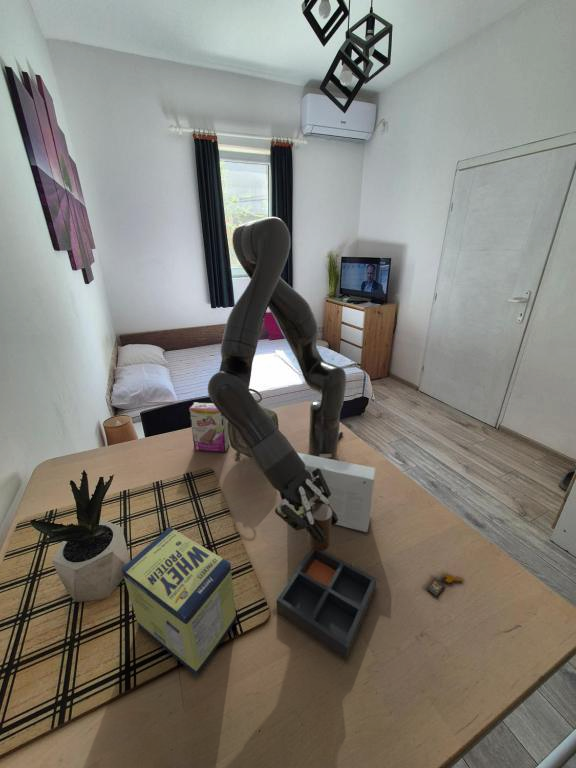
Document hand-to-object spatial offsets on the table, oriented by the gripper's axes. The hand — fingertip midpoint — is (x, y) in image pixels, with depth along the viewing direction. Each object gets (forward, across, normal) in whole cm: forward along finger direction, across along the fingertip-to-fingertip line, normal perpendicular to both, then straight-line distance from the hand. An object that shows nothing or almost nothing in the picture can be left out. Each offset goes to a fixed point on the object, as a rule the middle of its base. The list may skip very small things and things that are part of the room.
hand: (328, 530), depth 62 cm
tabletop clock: (-17, +26, +38) cm, 49 cm away
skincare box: (+5, +17, +16) cm, 24 cm away
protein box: (-2, -21, +23) cm, 31 cm away
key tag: (+25, +13, -5) cm, 29 cm away
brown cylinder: (+1, 0, +4) cm, 4 cm away
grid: (+12, -3, +9) cm, 15 cm away
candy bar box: (-28, +22, +49) cm, 61 cm away
